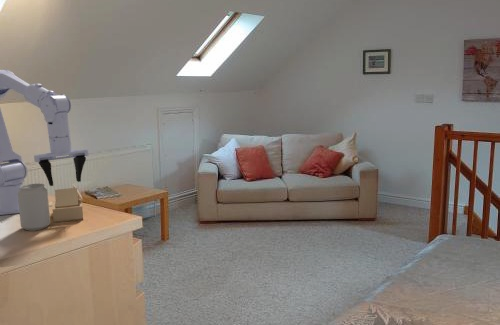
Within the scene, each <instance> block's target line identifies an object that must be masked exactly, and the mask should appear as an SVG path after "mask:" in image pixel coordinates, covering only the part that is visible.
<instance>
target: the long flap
mask: <svg viewBox="0 0 500 325" xmlns="http://www.w3.org/2000/svg"><path fill="white" fill-rule="evenodd" d="M77 189H78V187H76V188H73V187H71V188H61V189H54V193H55V194H54V197H55V201H56V207H61V206H71V205H78V199H79V196H78V194H77Z"/></svg>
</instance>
